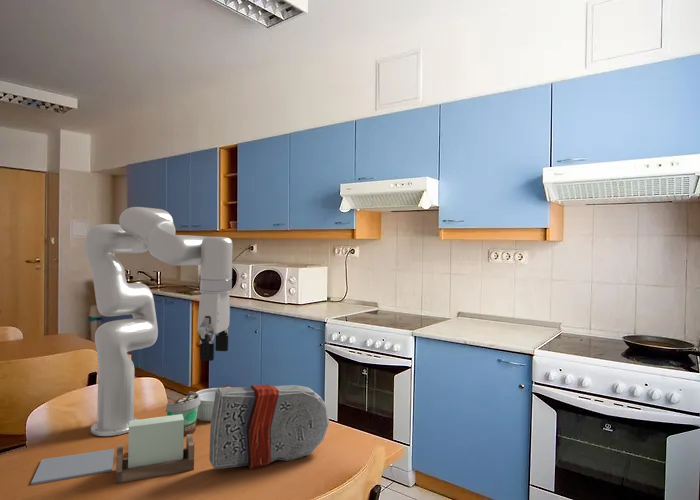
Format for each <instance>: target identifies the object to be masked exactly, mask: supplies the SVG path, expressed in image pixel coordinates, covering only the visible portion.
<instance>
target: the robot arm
mask: <svg viewBox="0 0 700 500" xmlns="http://www.w3.org/2000/svg"><path fill="white" fill-rule="evenodd" d="M118 222H119V224H114V223H106V224H105V223H103V224H97V225H94V226H92V227H91V228H90V229H89V230H88V231H87V233H86V235H85V239H84V251H85V256H86V258H87V262H88V263H89V265H90V269H91V273H92V279H93V288H94V296H95V302H96V308H97V311H98V313H99V314H100V315H101V316H104V317H117V316H118V317H119V316H126V315H132V318H125V319H117V320H116V319H115V320H112V321H111V320H110V321H107V322H104V323H102V324H101V325H100V326H98V328H97V329H96V331H95V333H94V343H95V344H94V345H95V348H96V354H97V363H98V364H97V409H96V410H97V413H96V416H97V417H96V418H97V419H96V420H97V421H96V422H95V423H94V424H92V425H91V427H90V433H91V434H93V435H94V436H98V437H112V436H120V435H125V434H127V433H129V421H132V420H139V418H137V417H135V415H134V413H135V365H134V362H133V360H132V359H131V357H130V356H129V355H128V352H132V351H136V350H142V349H145V348H149V347H152V346H153V345H154V344H156V341H157V339H158V335H159V328H158V321H157V320H158V319H157V314H156V307H155V306H156V305H155V300H154V294H153V292H152V290H151V289H150V288H149V286H148V285H146V284H144V283H140V282H133V283H128V282H127V279H126V271H125V266H123V265H122V263H121V261H120V260H119V259H118V258H117V257H116V256H115V255H114V254H116V253H117V254H141V253H142V254H143V253H146V252H147V251H149V254H150V255H151V256H152V257H154V258H156V259H158V260H159V261H161V262H162V263H165V264H168V265H170V266H200V272H199V273H200V285H199V287H200V288H199V293H200V298H199V305H198V315H197V328H196V329H197V333H198V334H199V344H200V349H199V355H200V356H199V360H201V361H206V362H207V361H210V362H211V361H214V360H215V351H216V352H228V351H229V334H230V331H229V328H230V322H231V321H230V319H231V310H230V309H231V305H230V304H231V303H230V293H232V290H233V289H232V286H233V280H232V279H233V240H232V239H231V238H230V237H225V236H204V235H203V236H202V235H188V234H187V235H186V234H184V235H183V234H177V233H176V227H175V224H174V219H173V217H172V215H171V214H170V213H169V212H168V211H167V210H164V209H162V208H155V207H154V208H153V207H143V206H131V207H128V208H126V209H125V210H123V211H122V213H121V214H120V216H119V219H118ZM214 340H215V343H214Z"/></svg>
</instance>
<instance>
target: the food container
mask: <svg viewBox="0 0 700 500" xmlns="http://www.w3.org/2000/svg"><path fill="white" fill-rule="evenodd" d="M200 403H201V402H200V397H199V395H198V394H197V393H196V392H195V391H190V390H189V391H188V394H187V395H185V396H183V397H180V398H178V399H177V400H176V401H174V402H173V403H166V406H165V412H166V414H167V415H166V416H171V415H179V414H183V418H184V437H183V438H186V435H187V434H192V435H193V434H194V433H195V432H196V428H197V420H198V418H197V410H198V405H199V404H200Z"/></svg>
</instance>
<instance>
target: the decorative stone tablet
mask: <svg viewBox="0 0 700 500" xmlns="http://www.w3.org/2000/svg"><path fill="white" fill-rule="evenodd" d="M217 388H218V389H217V390H216V393H215V399H214V406H213V412H212V418H211V421H210V428H209V455H208V456H209V459H208V460H209V461H210V465H211V467H212V468H214V469H217V470H218V469H226V468H235V467H236V468H237V467H243V466H244V467H246V466H247V467H248V468H249V470H254V469H258V468H259V469H260V468H262V467H267V466H268V465H269V464H271V463H273V462H274V461H294V460H297V459H299V458H303V457H304V456H308V455H310V454H312V453H313V452H314V451H315V449H316V448H318V446H319V445H320V444H322V442H323V441H324V439H325V436H326V434H327V431H328V427H329V425H330V419H329V411H328V405H326V403H325V401H324V400H323V398H322V397H321V396H320V395H319V394H318V393H316V392H315V391H314V390H313V389H311V388H310V387H307V386H301V385H296V384H292V385H272V384H271V385H270V384H252V385H251V386H249V387H248V386H246V387H245V386H243V387H242V386H240V387H239V386H238V387H236V386H235V387H217Z"/></svg>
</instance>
